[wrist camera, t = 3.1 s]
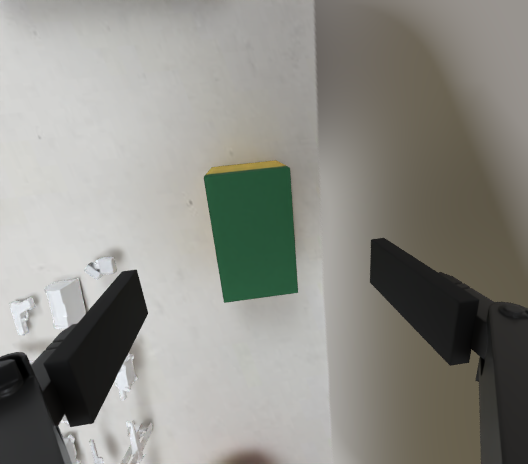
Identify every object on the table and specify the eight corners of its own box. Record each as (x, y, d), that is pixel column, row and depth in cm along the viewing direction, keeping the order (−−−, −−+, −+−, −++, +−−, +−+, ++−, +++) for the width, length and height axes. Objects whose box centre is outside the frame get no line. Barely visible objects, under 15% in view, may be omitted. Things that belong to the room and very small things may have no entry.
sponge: (211, 167, 26) (203, 176, 19) (276, 160, 26) (290, 167, 20) (226, 265, 29) (224, 303, 22) (284, 258, 29) (298, 292, 23)
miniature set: (169, 497, 38) (82, 492, 38) (130, 247, 29) (17, 248, 29) (147, 564, 31) (44, 557, 32) (88, 272, 22) (-53, 272, 23)
